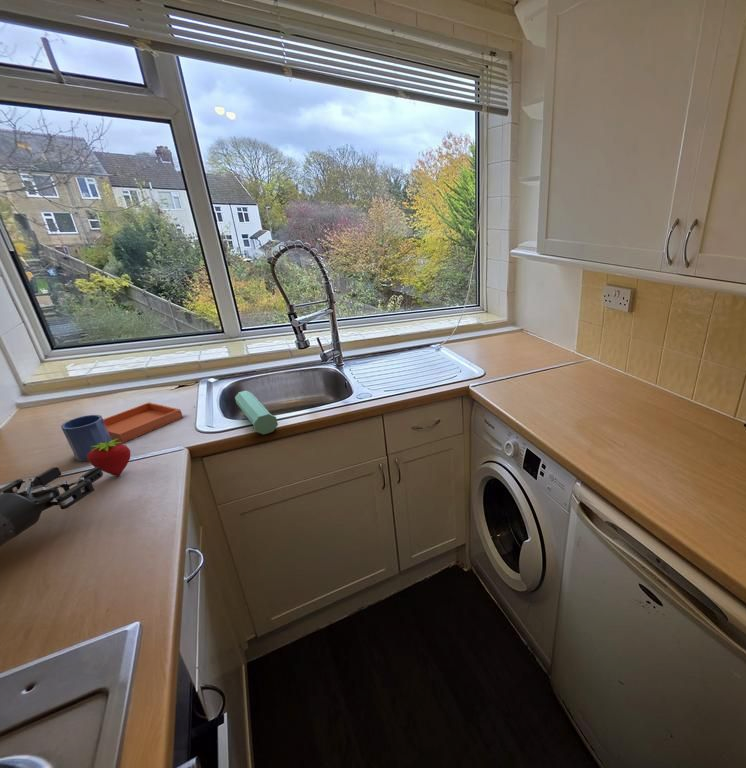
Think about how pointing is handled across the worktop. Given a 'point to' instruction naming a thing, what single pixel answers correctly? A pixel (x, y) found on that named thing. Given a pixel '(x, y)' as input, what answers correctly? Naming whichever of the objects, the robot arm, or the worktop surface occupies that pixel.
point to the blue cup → (85, 434)
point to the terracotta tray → (140, 421)
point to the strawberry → (110, 457)
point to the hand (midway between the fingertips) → (79, 470)
